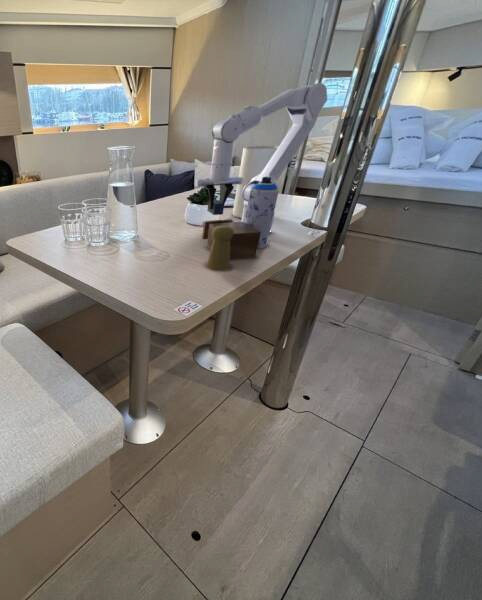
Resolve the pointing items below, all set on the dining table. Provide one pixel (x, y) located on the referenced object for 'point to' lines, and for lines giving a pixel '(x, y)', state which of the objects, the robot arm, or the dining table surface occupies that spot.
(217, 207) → the dark blue-grey block
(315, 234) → the dining table surface
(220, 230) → the cork
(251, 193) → the aerosol can
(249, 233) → the cabinet
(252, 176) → the cylinder vase
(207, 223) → the drawer
